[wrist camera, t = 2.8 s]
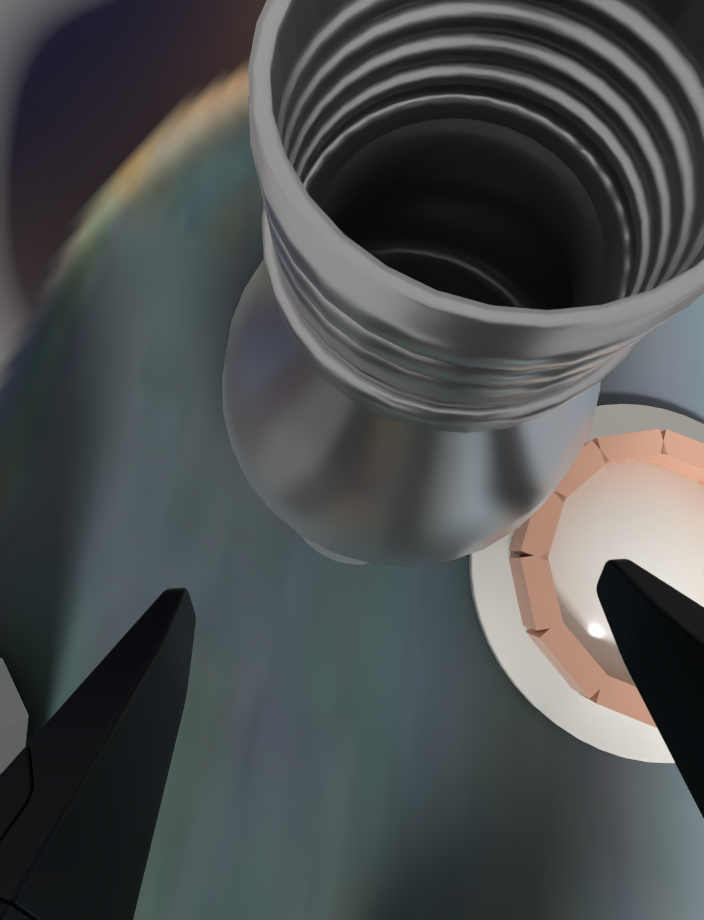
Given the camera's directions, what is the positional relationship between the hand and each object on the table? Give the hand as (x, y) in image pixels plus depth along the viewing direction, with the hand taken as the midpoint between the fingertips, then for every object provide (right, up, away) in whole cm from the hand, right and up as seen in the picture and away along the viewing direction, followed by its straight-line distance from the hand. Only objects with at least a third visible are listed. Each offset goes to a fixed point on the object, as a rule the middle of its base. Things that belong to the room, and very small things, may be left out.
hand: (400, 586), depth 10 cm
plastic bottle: (-1, +1, +13) cm, 13 cm away
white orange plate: (+12, -3, +12) cm, 18 cm away
